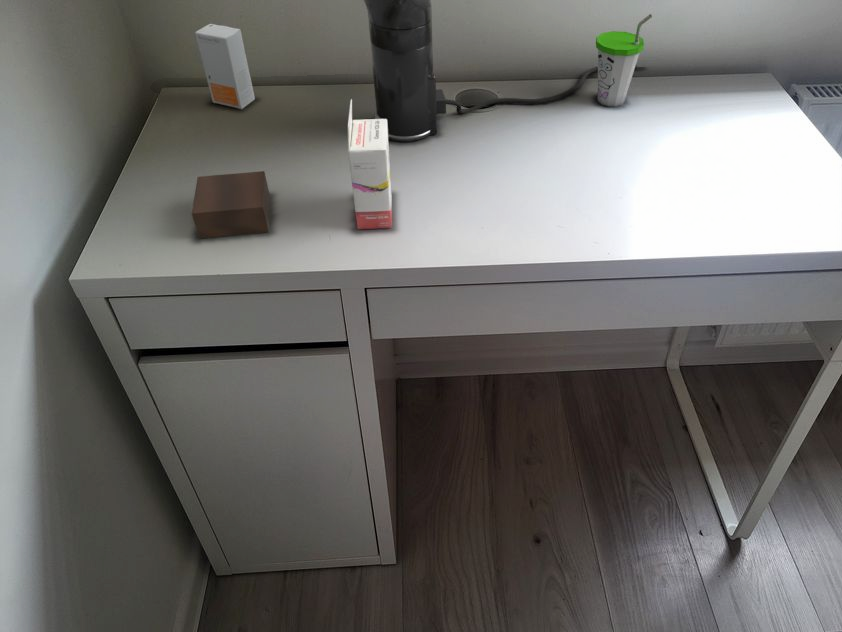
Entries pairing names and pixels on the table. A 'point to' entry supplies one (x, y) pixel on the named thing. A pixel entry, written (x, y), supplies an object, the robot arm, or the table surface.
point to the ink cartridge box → (370, 171)
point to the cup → (617, 63)
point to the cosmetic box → (225, 65)
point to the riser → (231, 204)
